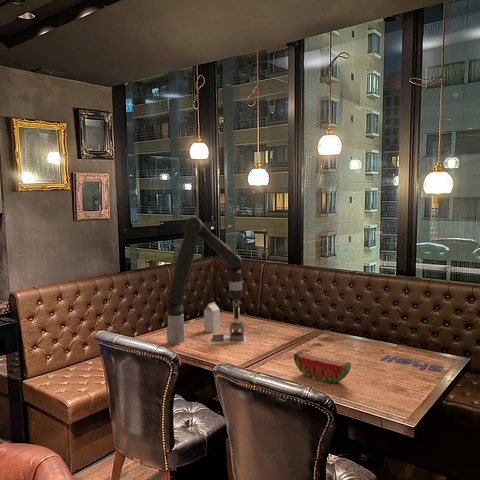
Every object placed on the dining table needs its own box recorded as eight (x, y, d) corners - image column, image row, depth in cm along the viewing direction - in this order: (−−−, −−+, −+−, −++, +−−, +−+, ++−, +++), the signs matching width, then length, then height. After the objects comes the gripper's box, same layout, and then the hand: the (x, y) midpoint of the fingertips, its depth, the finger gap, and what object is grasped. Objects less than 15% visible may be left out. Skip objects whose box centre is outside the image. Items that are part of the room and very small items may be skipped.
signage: (444, 366, 212) (438, 372, 204) (444, 367, 212) (438, 374, 204) (387, 354, 230) (380, 359, 222) (387, 355, 230) (380, 361, 222)
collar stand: (212, 341, 251) (211, 326, 251) (212, 337, 259) (212, 322, 259) (243, 341, 252) (243, 325, 251) (243, 336, 260) (243, 322, 259)
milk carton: (220, 331, 276) (219, 302, 274) (213, 334, 270) (212, 304, 268) (211, 330, 280) (210, 301, 278) (204, 333, 274) (203, 303, 272)
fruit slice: (293, 374, 206) (293, 354, 205) (300, 370, 211) (300, 350, 210) (345, 388, 190) (345, 366, 189) (351, 383, 194) (351, 361, 194)
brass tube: (236, 335, 253) (236, 308, 252) (232, 334, 256) (231, 307, 254) (241, 334, 256) (240, 307, 254) (236, 333, 258) (236, 306, 257)
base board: (208, 346, 249) (208, 343, 248) (209, 338, 262) (209, 336, 262) (246, 345, 249) (246, 342, 249) (245, 337, 263) (245, 335, 263)
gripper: (242, 291, 246) (243, 320, 248) (241, 286, 260) (242, 314, 262) (229, 291, 246) (230, 321, 248) (229, 286, 260) (230, 314, 262)
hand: (236, 317), depth 255 cm, fingers closed on brass tube, 3 cm apart
